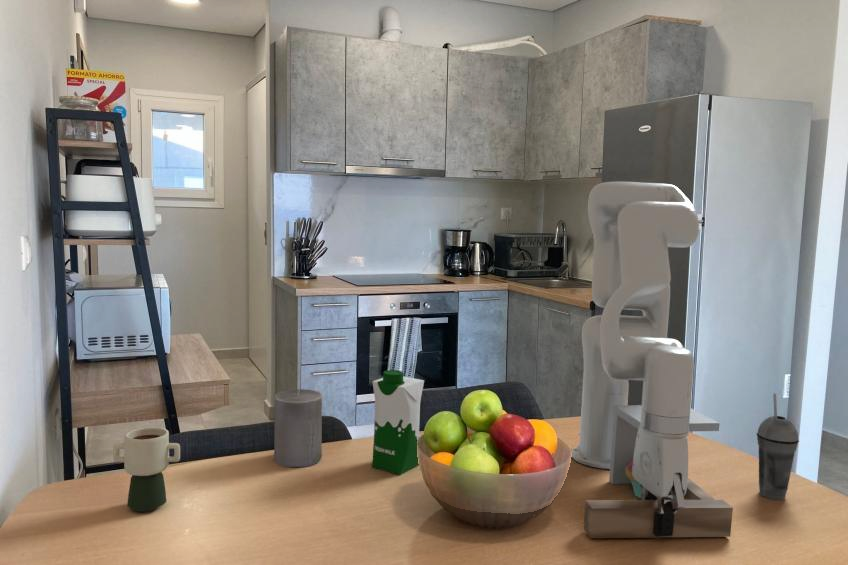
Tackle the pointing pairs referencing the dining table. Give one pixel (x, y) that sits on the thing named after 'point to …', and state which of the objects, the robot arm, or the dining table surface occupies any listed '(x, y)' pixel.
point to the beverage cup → (776, 454)
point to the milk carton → (396, 422)
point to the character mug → (146, 465)
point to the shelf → (626, 434)
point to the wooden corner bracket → (638, 516)
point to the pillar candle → (298, 428)
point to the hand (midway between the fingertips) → (656, 528)
